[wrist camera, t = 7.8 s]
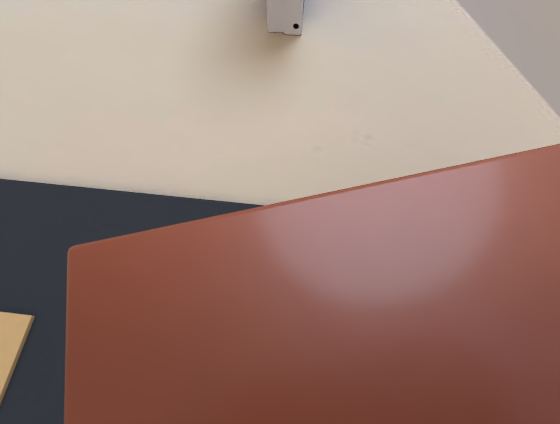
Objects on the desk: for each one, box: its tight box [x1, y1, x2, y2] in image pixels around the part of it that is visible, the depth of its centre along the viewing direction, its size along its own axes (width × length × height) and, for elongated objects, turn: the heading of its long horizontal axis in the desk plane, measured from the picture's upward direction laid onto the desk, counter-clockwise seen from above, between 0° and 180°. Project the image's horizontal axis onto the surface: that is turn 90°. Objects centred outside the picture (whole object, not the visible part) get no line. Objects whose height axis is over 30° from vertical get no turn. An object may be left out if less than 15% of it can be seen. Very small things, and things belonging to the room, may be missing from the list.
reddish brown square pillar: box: [64, 144, 560, 424], centre depth 8 cm, size 5×5×13 cm
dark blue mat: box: [0, 179, 264, 424], centre depth 20 cm, size 24×14×1 cm, turn 83°
